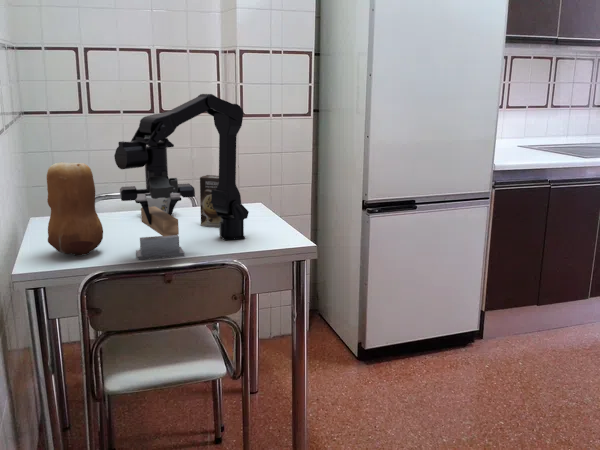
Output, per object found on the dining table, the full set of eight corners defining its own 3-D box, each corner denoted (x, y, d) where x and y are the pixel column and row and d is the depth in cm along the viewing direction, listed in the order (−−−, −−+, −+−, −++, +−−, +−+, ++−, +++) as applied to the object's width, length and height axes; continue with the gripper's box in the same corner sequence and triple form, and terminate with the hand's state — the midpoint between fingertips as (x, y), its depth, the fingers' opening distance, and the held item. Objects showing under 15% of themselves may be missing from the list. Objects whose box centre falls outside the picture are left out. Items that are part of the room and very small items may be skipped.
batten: (155, 220, 161) (155, 206, 161) (178, 234, 147) (178, 219, 146) (141, 221, 159) (140, 207, 158) (163, 236, 145) (162, 221, 144)
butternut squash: (89, 244, 164) (83, 157, 158) (113, 254, 155) (107, 162, 149) (40, 253, 154) (31, 161, 149) (63, 264, 145) (54, 167, 140)
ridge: (180, 250, 160) (180, 232, 158) (184, 256, 154) (183, 238, 153) (136, 254, 155) (135, 236, 154) (138, 260, 150) (137, 241, 149)
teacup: (156, 210, 208) (155, 189, 206) (185, 214, 203) (184, 192, 201) (128, 219, 195) (127, 196, 193) (158, 223, 190) (156, 199, 188)
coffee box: (200, 226, 187) (198, 177, 183) (207, 221, 193) (206, 174, 189) (226, 228, 185) (225, 178, 181) (233, 223, 191) (232, 175, 187)
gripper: (120, 171, 139) (124, 233, 142) (197, 168, 145) (199, 228, 149) (118, 165, 149) (121, 223, 152) (190, 162, 155) (192, 218, 159)
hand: (159, 223), depth 153 cm, fingers closed on batten, 4 cm apart
